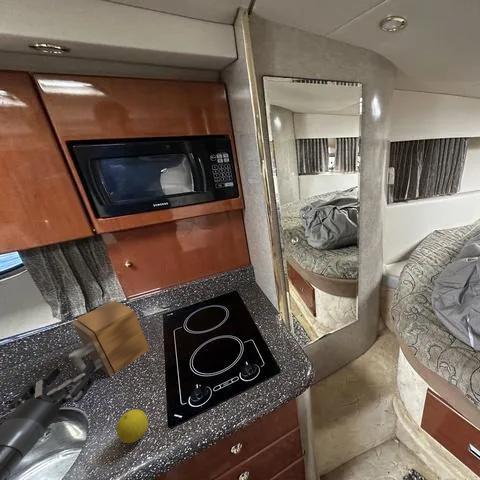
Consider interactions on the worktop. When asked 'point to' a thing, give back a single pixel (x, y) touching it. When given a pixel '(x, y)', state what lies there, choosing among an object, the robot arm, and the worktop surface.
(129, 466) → the worktop surface
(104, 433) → the worktop surface
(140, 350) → the cupboard
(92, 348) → the cupboard door
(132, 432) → the lemon
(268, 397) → the worktop surface
